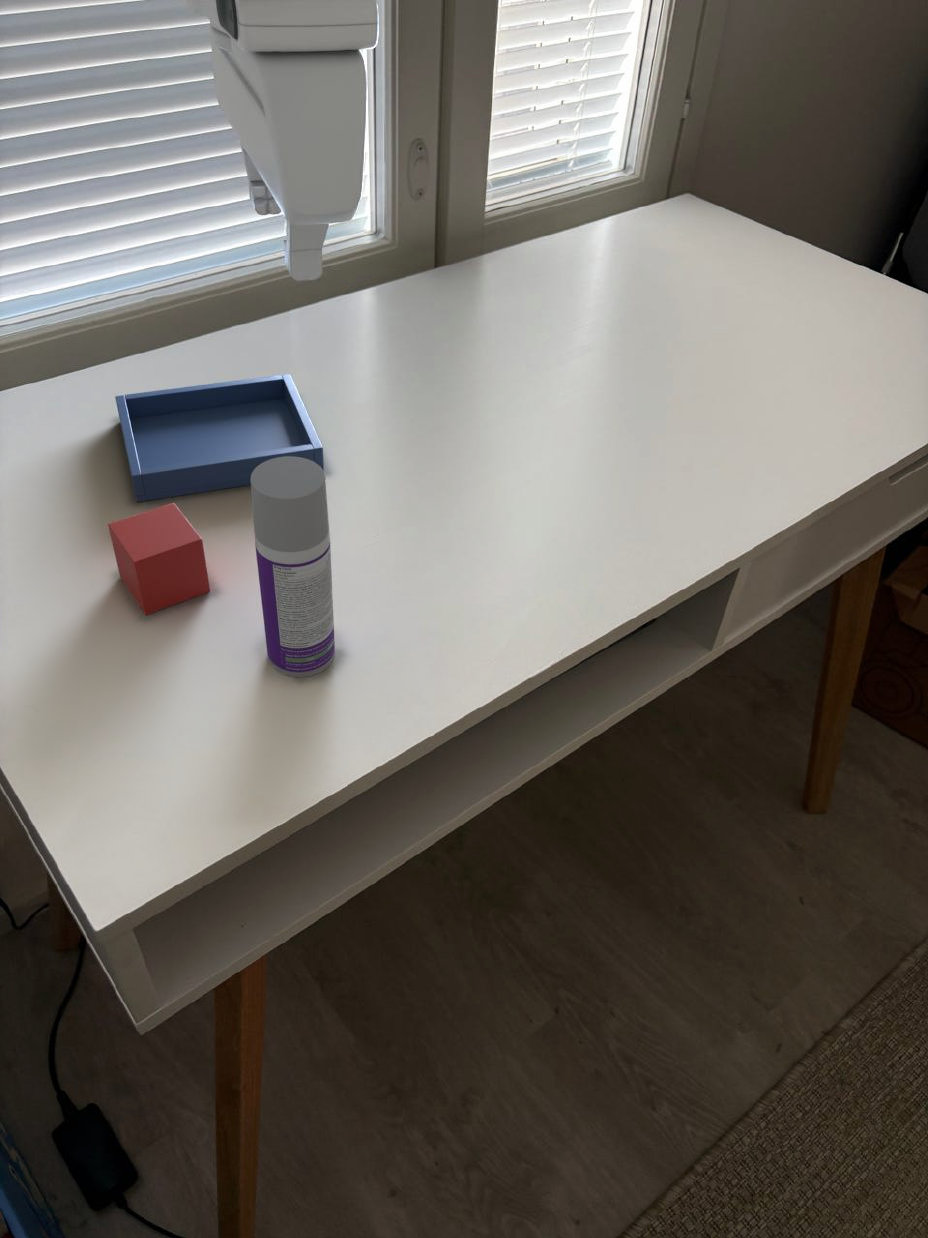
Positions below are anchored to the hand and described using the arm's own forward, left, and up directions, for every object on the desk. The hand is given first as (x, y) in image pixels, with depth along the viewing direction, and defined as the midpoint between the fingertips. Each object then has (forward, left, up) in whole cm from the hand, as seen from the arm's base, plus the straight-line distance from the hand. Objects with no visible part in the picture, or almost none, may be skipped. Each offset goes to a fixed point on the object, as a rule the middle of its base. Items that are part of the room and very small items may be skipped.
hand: (284, 241), depth 59 cm
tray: (-3, +19, -26) cm, 32 cm away
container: (-2, -8, -26) cm, 27 cm away
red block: (-10, +2, -26) cm, 28 cm away
